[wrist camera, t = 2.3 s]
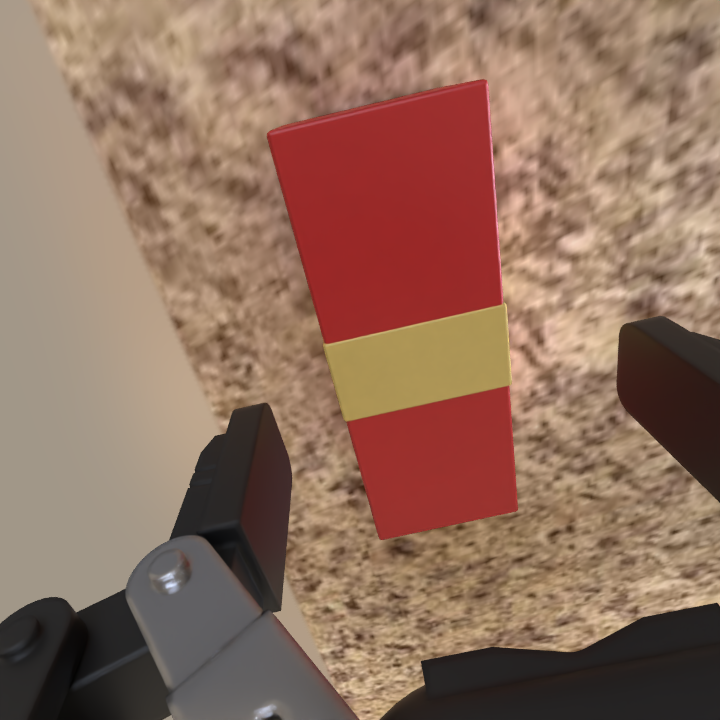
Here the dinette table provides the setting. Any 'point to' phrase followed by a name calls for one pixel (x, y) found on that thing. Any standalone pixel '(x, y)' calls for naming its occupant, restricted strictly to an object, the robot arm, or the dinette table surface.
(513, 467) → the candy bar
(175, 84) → the dinette table surface
